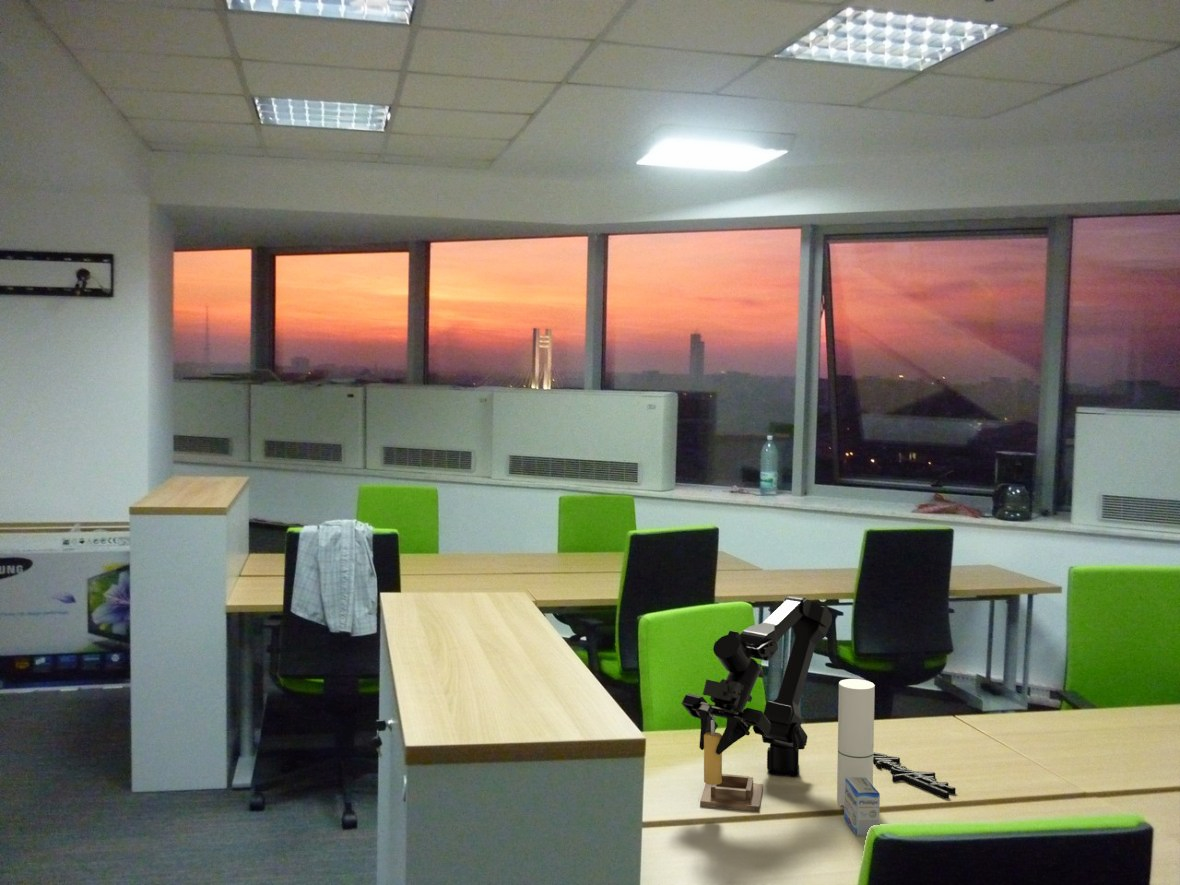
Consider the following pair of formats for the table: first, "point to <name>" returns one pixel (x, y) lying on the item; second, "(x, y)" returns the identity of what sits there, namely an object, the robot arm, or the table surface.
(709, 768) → the yellow cylindrical piece
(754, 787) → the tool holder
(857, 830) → the medicine box
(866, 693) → the cylindrical container
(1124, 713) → the table surface
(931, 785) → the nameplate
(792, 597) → the robot arm
